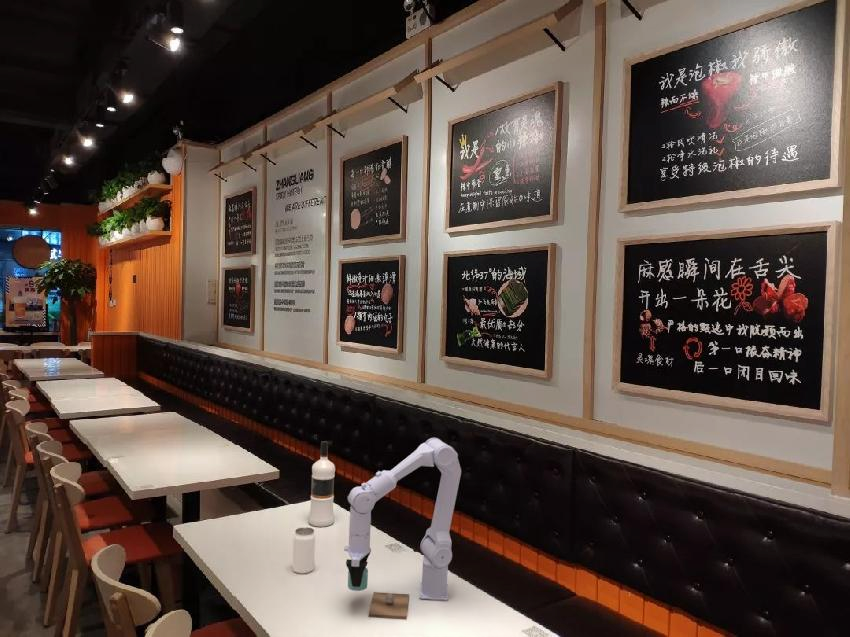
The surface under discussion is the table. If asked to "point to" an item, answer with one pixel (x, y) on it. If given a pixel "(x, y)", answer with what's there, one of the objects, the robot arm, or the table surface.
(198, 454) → the table surface
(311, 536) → the can
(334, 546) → the table surface
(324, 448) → the vodka
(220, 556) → the table surface
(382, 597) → the stud board
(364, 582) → the cap
